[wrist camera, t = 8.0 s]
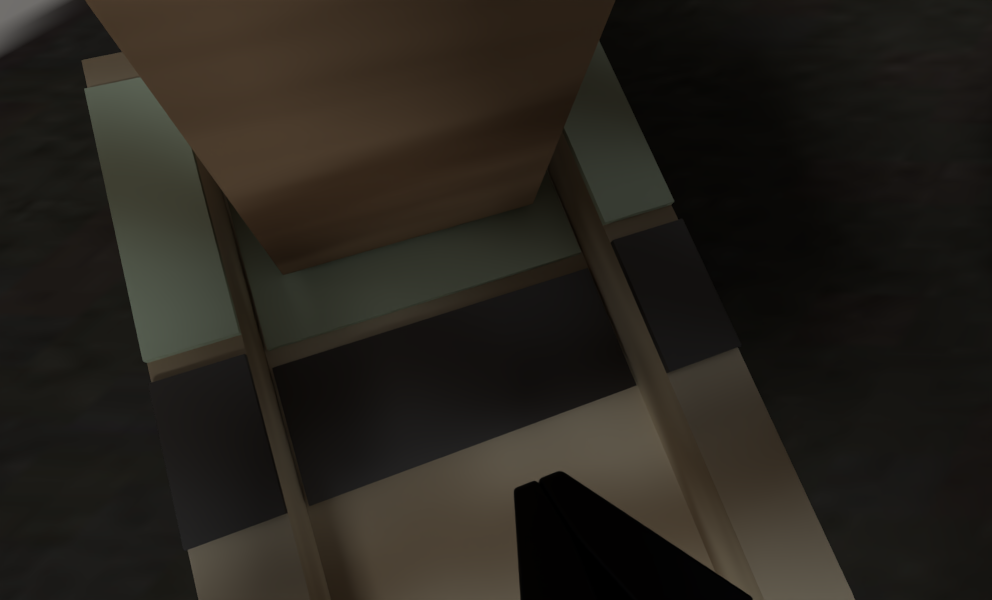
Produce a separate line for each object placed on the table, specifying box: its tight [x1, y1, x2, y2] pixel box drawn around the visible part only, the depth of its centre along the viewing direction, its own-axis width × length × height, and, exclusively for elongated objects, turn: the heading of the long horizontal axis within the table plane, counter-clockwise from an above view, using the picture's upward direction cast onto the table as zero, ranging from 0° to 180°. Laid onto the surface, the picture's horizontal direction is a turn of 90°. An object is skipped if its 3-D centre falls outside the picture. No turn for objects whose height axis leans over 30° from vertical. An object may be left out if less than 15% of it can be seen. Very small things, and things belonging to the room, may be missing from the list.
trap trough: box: [82, 41, 855, 600], centre depth 14 cm, size 30×13×3 cm, turn 20°
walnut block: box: [85, 0, 615, 275], centre depth 12 cm, size 5×7×10 cm
